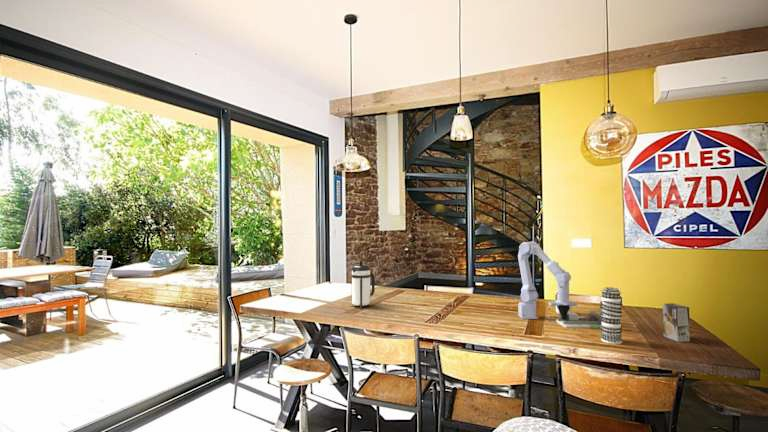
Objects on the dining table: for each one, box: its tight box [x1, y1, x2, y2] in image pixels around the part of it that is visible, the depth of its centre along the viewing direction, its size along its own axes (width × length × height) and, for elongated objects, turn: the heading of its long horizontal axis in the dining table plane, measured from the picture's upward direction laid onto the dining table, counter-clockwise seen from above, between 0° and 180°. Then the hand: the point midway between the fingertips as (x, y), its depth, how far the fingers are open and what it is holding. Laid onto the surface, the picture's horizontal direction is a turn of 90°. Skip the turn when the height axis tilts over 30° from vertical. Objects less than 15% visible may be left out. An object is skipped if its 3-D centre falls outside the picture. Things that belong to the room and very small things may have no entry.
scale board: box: [555, 310, 602, 329], centre depth 210 cm, size 20×12×6 cm, turn 89°
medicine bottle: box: [555, 299, 572, 315], centre depth 235 cm, size 7×7×12 cm
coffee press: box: [350, 260, 376, 310], centre depth 256 cm, size 17×16×30 cm
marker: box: [584, 312, 595, 321], centre depth 210 cm, size 3×5×4 cm, turn 179°
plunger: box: [565, 312, 582, 321], centre depth 210 cm, size 8×5×4 cm, turn 89°
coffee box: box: [662, 302, 691, 343], centre depth 185 cm, size 9×6×16 cm
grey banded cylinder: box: [599, 286, 623, 345], centre depth 182 cm, size 9×9×25 cm
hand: (563, 319), depth 210 cm, fingers closed
